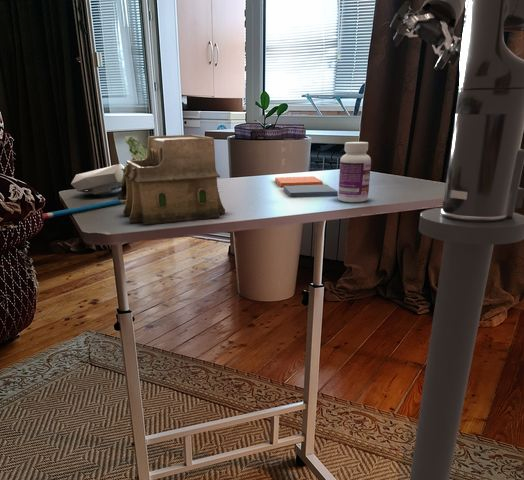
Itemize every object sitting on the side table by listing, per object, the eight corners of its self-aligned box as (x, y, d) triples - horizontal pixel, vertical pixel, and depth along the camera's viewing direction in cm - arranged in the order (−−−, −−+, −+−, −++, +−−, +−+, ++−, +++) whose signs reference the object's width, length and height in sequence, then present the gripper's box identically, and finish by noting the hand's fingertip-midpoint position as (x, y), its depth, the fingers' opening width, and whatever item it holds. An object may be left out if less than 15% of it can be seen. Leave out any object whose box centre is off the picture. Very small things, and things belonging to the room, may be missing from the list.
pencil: (44, 214, 79) (45, 218, 79) (128, 198, 91) (129, 202, 92) (41, 214, 79) (42, 218, 80) (125, 198, 92) (126, 202, 92)
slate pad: (326, 188, 103) (327, 184, 102) (337, 195, 95) (337, 191, 94) (283, 189, 102) (283, 185, 102) (290, 197, 94) (290, 192, 94)
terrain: (186, 205, 94) (192, 196, 92) (144, 207, 87) (150, 197, 85) (151, 142, 96) (156, 132, 94) (108, 139, 90) (112, 129, 88)
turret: (157, 187, 111) (151, 164, 110) (112, 187, 93) (105, 160, 92) (117, 196, 114) (111, 174, 113) (66, 198, 96) (59, 172, 94)
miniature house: (204, 202, 90) (199, 133, 85) (230, 216, 78) (226, 137, 73) (119, 210, 85) (109, 137, 80) (133, 226, 73) (122, 142, 68)
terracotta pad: (314, 180, 114) (314, 176, 114) (322, 185, 106) (322, 181, 106) (275, 181, 114) (275, 177, 113) (280, 187, 106) (280, 183, 105)
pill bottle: (368, 203, 87) (372, 143, 83) (337, 202, 88) (340, 143, 84) (367, 197, 92) (372, 141, 88) (338, 197, 93) (341, 141, 89)
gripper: (421, -29, 94) (395, 12, 87) (485, 10, 95) (464, 55, 88) (401, 10, 101) (375, 51, 94) (460, 46, 102) (439, 90, 94)
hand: (418, 53), depth 91 cm, fingers open, 8 cm apart
